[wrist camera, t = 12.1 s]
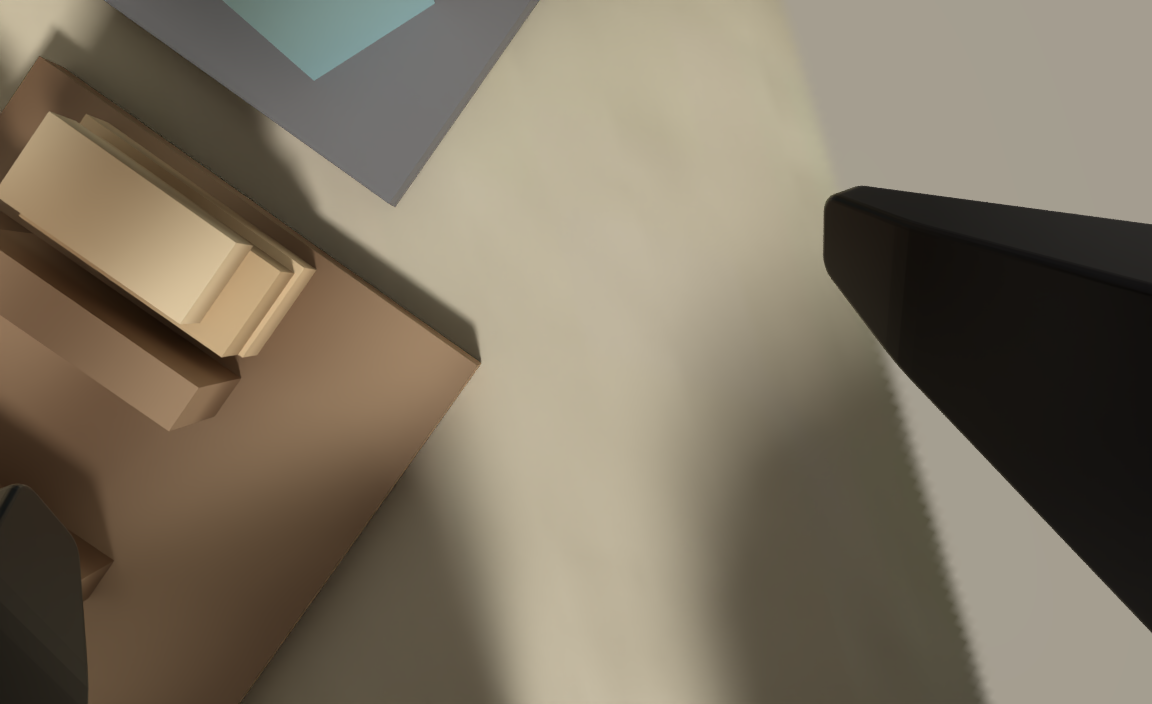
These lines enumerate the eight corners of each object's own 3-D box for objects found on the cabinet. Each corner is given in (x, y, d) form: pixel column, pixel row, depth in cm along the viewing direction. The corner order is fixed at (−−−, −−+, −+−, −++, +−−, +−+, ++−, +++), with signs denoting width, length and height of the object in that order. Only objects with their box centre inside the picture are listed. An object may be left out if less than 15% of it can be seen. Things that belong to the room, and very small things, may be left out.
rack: (481, 363, 18) (458, 378, 14) (176, 792, 19) (76, 916, 15) (63, 67, 18) (-75, 2, 14) (-237, 515, 18) (-451, 571, 14)
